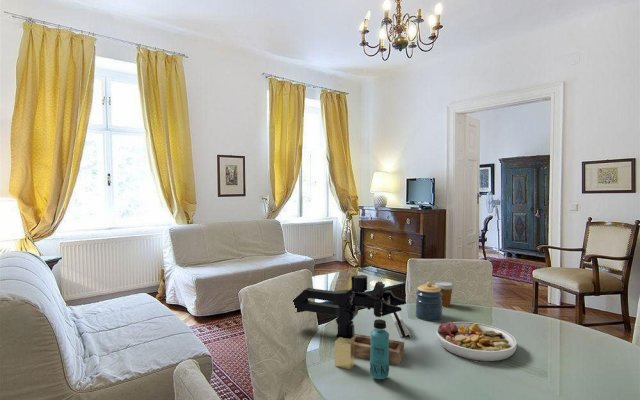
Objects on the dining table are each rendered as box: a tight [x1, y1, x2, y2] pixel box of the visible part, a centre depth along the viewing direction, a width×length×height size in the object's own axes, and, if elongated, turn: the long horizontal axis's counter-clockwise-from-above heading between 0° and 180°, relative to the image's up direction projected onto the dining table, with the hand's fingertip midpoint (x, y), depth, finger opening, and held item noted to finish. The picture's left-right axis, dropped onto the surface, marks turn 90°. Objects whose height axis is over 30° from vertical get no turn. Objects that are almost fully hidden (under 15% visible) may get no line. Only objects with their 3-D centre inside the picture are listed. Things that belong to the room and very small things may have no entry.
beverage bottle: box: [369, 318, 390, 380], centre depth 125 cm, size 6×7×20 cm
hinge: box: [389, 311, 412, 338], centre depth 168 cm, size 17×5×10 cm, turn 179°
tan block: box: [334, 337, 356, 370], centre depth 135 cm, size 6×4×9 cm
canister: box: [415, 281, 443, 322], centre depth 184 cm, size 13×13×18 cm
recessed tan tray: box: [351, 333, 405, 365], centre depth 143 cm, size 20×10×4 cm, turn 66°
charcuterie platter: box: [435, 321, 518, 362], centre depth 150 cm, size 30×30×8 cm
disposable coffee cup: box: [434, 281, 454, 308], centre depth 202 cm, size 10×10×12 cm
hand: (403, 305), depth 150 cm, fingers open, 9 cm apart
